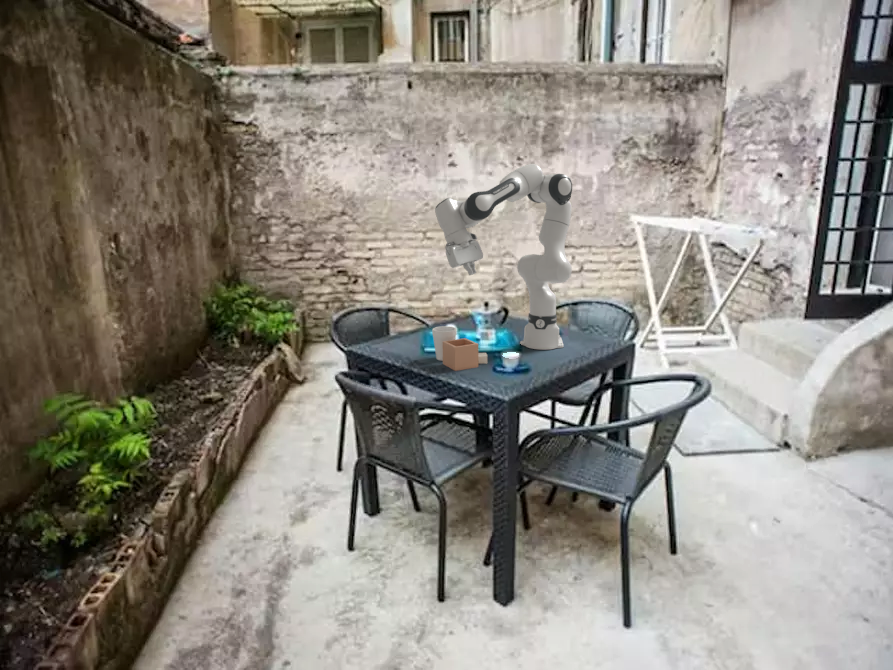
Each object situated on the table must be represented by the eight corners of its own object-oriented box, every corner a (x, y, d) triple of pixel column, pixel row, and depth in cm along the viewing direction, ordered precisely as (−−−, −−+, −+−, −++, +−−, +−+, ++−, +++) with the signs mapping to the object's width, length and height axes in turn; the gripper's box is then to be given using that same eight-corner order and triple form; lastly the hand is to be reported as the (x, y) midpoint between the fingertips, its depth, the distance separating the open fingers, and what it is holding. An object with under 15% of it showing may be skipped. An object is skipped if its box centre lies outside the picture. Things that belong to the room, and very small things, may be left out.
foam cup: (429, 362, 235) (428, 330, 232) (438, 356, 243) (438, 325, 240) (451, 365, 232) (450, 332, 228) (460, 358, 240) (460, 327, 237)
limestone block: (473, 362, 235) (473, 353, 234) (486, 362, 235) (486, 352, 234) (474, 366, 230) (474, 356, 229) (487, 366, 230) (487, 356, 229)
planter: (442, 366, 230) (442, 341, 227) (465, 362, 234) (465, 338, 232) (455, 373, 221) (455, 347, 219) (478, 369, 226) (478, 343, 223)
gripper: (450, 240, 215) (465, 275, 215) (478, 234, 232) (492, 267, 232) (437, 247, 219) (452, 282, 219) (465, 240, 235) (479, 273, 236)
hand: (473, 274), depth 226 cm, fingers closed
